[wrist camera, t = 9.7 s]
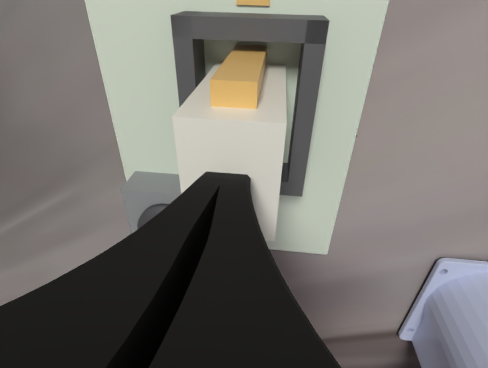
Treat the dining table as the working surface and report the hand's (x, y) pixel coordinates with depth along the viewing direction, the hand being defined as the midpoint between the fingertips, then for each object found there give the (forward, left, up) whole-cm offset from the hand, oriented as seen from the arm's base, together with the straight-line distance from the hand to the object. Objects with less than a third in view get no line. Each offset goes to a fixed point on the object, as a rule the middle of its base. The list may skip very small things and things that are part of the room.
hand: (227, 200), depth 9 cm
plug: (0, 0, -8) cm, 8 cm away
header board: (-2, +1, -9) cm, 9 cm away
